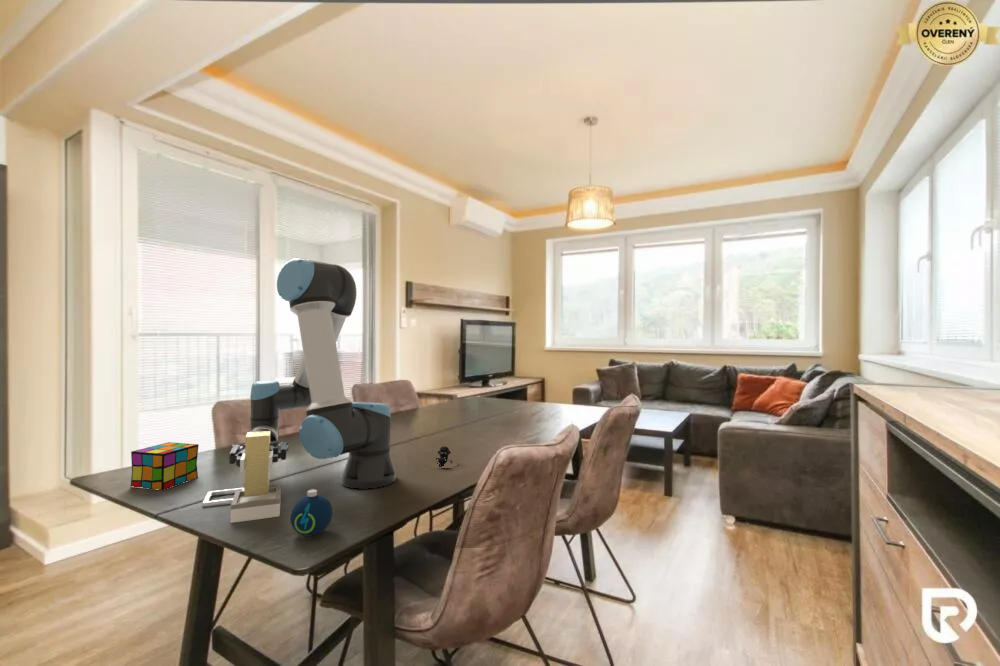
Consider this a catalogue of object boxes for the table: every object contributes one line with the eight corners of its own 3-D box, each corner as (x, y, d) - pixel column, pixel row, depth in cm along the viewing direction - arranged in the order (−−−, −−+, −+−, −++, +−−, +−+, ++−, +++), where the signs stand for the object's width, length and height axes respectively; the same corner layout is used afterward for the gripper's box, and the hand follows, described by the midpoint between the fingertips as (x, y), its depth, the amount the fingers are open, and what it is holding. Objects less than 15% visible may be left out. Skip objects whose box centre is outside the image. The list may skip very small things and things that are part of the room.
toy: (162, 491, 123) (163, 454, 123) (130, 488, 125) (131, 451, 125) (198, 478, 134) (198, 444, 134) (168, 475, 136) (168, 442, 136)
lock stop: (269, 487, 113) (270, 431, 113) (268, 494, 109) (269, 435, 109) (246, 489, 111) (247, 432, 111) (244, 496, 107) (245, 436, 107)
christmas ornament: (280, 538, 96) (281, 491, 96) (310, 523, 104) (311, 479, 104) (312, 546, 93) (313, 496, 93) (340, 529, 101) (341, 484, 101)
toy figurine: (426, 470, 147) (426, 452, 147) (429, 461, 157) (430, 444, 157) (457, 470, 147) (457, 452, 147) (459, 461, 157) (459, 444, 157)
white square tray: (280, 501, 116) (280, 486, 116) (279, 516, 107) (279, 499, 107) (235, 507, 112) (235, 491, 112) (230, 522, 103) (230, 505, 103)
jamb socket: (247, 490, 124) (247, 487, 124) (244, 502, 116) (244, 498, 116) (208, 495, 120) (208, 491, 120) (202, 507, 112) (202, 503, 112)
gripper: (297, 452, 130) (298, 476, 109) (224, 458, 123) (209, 485, 101) (298, 426, 130) (299, 445, 109) (224, 430, 123) (210, 451, 101)
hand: (256, 464), depth 105 cm, fingers closed on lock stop, 5 cm apart
